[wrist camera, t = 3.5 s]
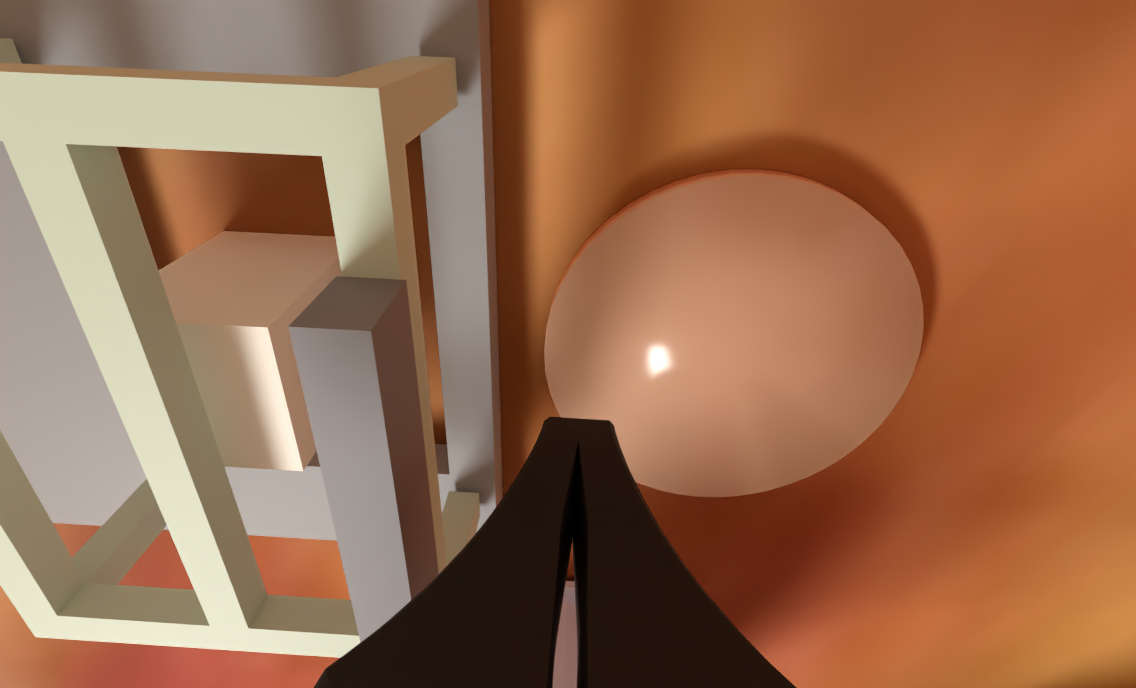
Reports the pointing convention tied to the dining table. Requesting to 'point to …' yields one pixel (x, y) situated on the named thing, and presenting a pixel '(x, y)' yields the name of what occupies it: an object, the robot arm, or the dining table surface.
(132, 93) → the cream slatted rack
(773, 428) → the terracotta dish
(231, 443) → the cream block
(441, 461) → the puzzle board
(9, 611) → the dining table surface
